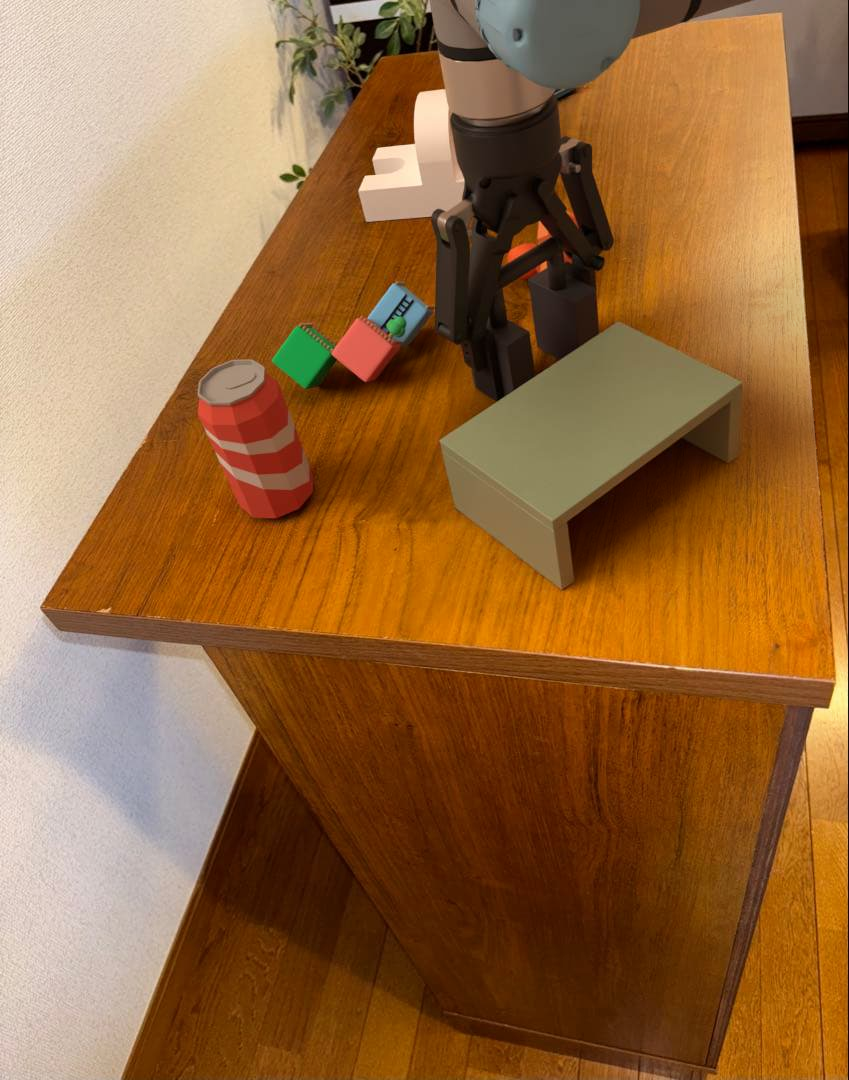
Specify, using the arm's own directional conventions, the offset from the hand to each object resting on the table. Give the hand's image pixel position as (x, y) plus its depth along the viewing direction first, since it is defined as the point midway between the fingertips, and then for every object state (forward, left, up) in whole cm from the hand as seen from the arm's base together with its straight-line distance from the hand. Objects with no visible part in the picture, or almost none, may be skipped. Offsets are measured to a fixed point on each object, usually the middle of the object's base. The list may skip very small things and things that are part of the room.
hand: (536, 363), depth 83 cm
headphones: (0, 0, -1) cm, 1 cm away
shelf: (-13, +6, -1) cm, 14 cm away
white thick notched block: (+32, -16, -2) cm, 36 cm away
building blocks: (+14, +9, -2) cm, 17 cm away
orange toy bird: (+11, -11, -2) cm, 16 cm away
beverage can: (+5, +24, -2) cm, 25 cm away
